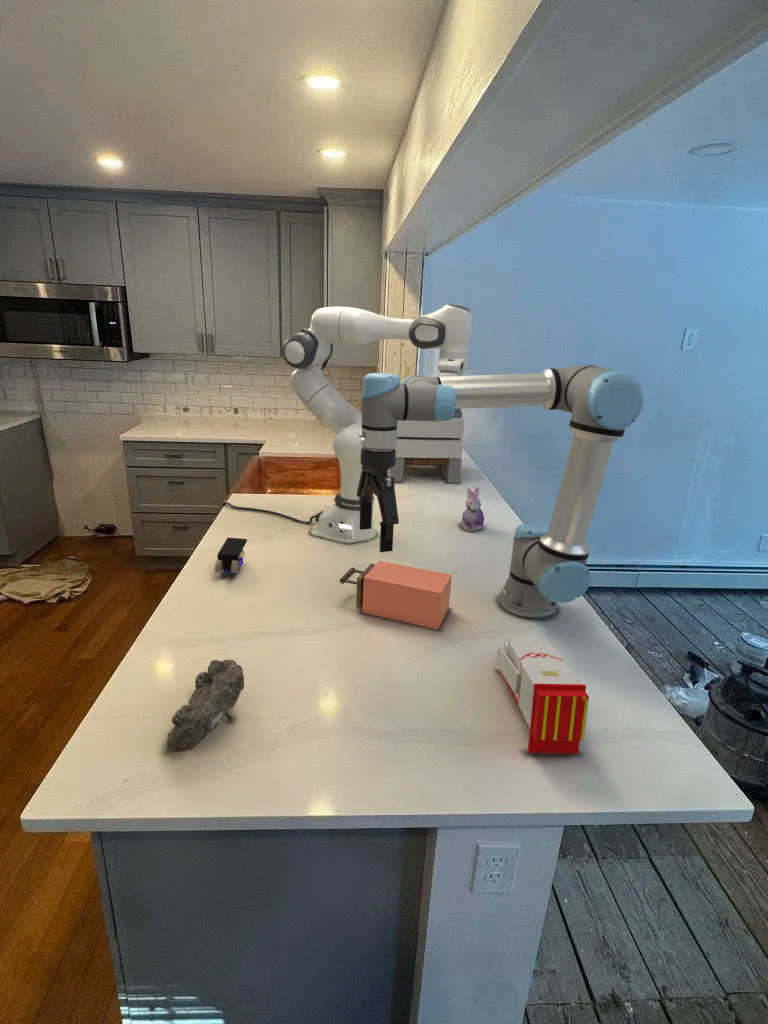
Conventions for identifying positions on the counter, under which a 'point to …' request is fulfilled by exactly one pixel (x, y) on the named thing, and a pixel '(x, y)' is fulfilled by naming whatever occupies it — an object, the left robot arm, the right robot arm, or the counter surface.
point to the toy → (545, 695)
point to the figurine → (473, 512)
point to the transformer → (430, 446)
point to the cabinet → (407, 594)
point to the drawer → (359, 582)
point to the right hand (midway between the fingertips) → (375, 539)
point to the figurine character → (230, 556)
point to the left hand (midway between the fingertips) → (449, 409)
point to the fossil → (206, 705)
